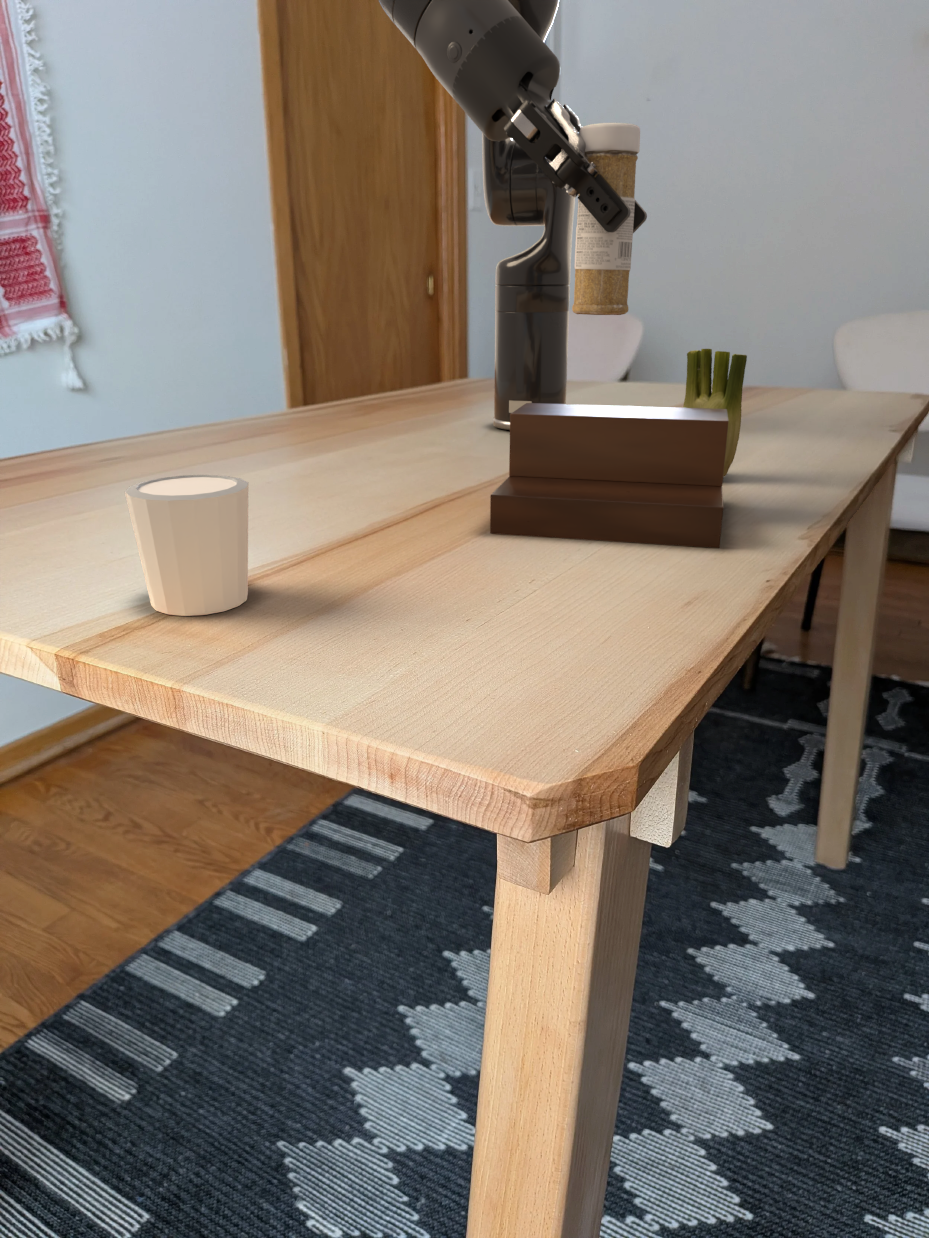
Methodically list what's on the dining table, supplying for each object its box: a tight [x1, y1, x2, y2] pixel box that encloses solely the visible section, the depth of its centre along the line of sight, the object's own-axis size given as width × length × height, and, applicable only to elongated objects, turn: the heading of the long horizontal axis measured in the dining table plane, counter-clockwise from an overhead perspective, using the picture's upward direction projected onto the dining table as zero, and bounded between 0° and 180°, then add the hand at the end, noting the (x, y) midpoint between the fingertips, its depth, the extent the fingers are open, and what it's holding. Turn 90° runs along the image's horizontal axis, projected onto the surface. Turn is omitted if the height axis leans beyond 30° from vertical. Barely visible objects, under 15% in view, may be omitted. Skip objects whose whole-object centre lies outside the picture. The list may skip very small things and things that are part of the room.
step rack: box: [489, 403, 729, 549], centre depth 72 cm, size 14×17×8 cm
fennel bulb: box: [682, 348, 748, 478], centre depth 86 cm, size 6×5×12 cm
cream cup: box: [124, 474, 249, 617], centre depth 54 cm, size 7×7×7 cm
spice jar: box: [571, 122, 641, 316], centre depth 71 cm, size 5×5×14 cm
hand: (629, 224), depth 70 cm, fingers closed on spice jar, 4 cm apart
